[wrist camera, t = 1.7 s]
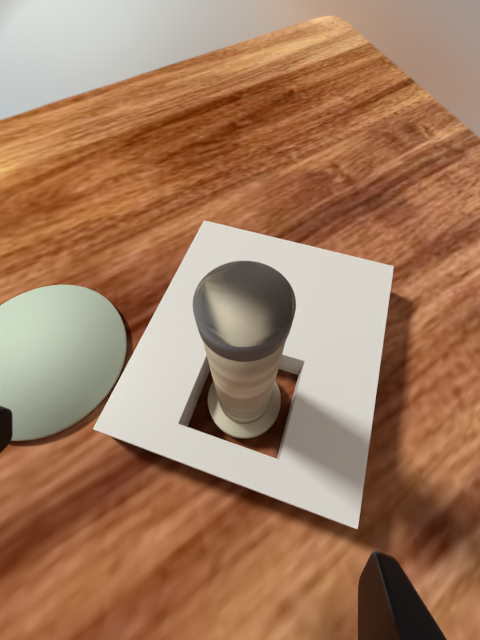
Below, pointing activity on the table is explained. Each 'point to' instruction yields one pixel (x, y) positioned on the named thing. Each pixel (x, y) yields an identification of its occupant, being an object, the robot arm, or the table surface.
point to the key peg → (244, 343)
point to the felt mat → (57, 357)
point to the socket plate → (298, 358)
